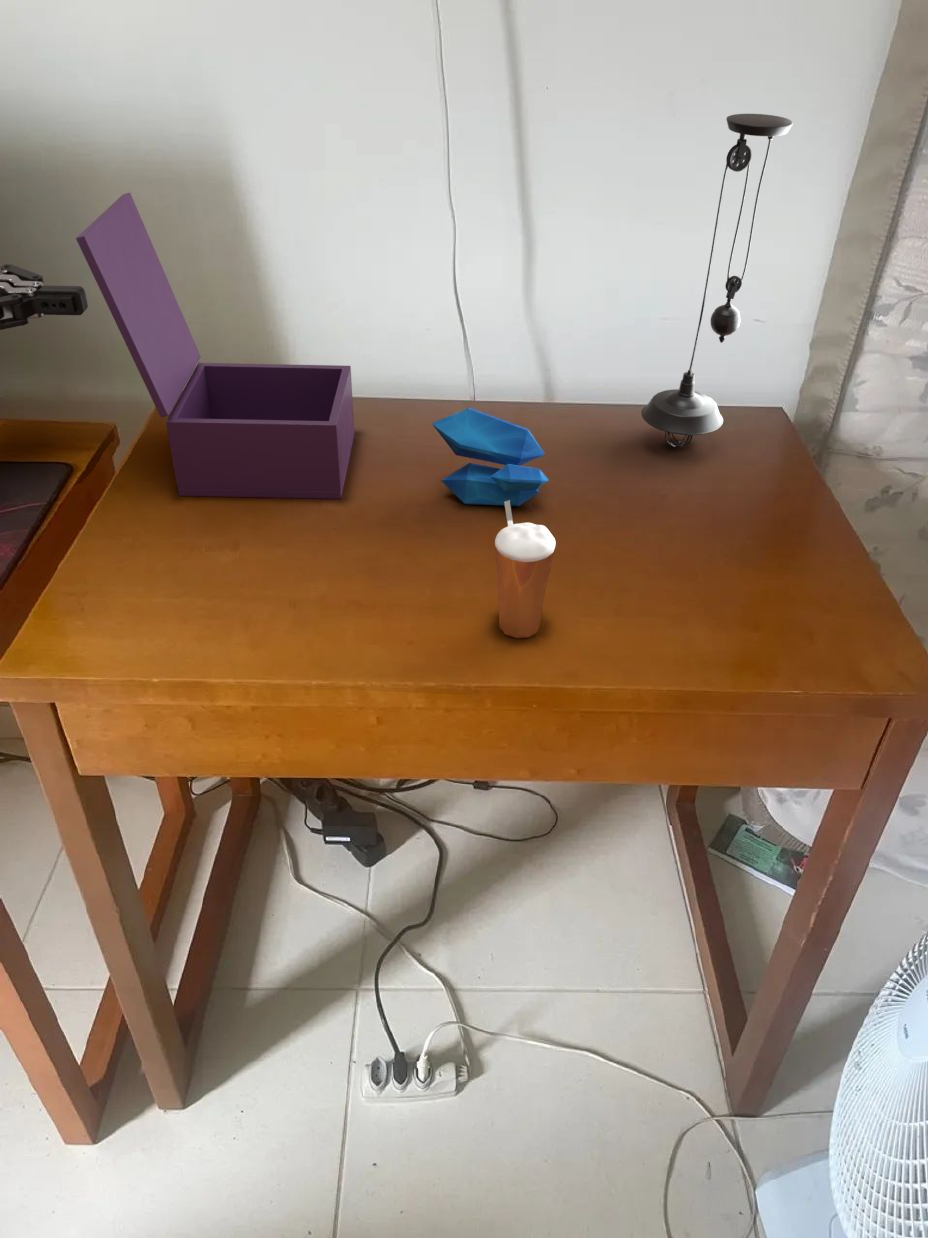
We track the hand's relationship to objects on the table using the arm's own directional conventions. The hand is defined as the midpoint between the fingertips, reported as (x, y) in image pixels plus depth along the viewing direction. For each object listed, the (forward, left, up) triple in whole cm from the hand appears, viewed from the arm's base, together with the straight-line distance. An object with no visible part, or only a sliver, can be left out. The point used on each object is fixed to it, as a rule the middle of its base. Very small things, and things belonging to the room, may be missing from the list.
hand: (83, 300), depth 90 cm
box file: (+16, 0, -16) cm, 23 cm away
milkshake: (+40, -26, -17) cm, 50 cm away
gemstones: (+38, -6, -17) cm, 42 cm away
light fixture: (+59, +6, -17) cm, 61 cm away
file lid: (+6, 0, 0) cm, 6 cm away
